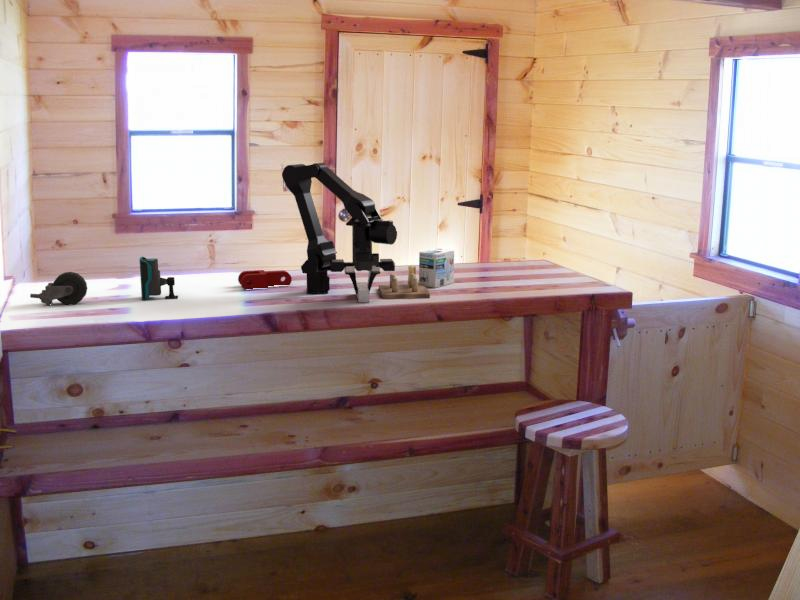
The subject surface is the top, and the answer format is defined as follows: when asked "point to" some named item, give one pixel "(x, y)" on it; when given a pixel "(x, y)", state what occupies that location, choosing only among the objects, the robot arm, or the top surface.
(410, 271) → the brass pin
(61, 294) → the caster wheel
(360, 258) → the robot arm
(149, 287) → the surveillance camera
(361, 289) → the grey rectangular block
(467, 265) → the top surface
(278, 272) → the mechanical linkage
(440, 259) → the light bulb box
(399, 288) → the peg board
